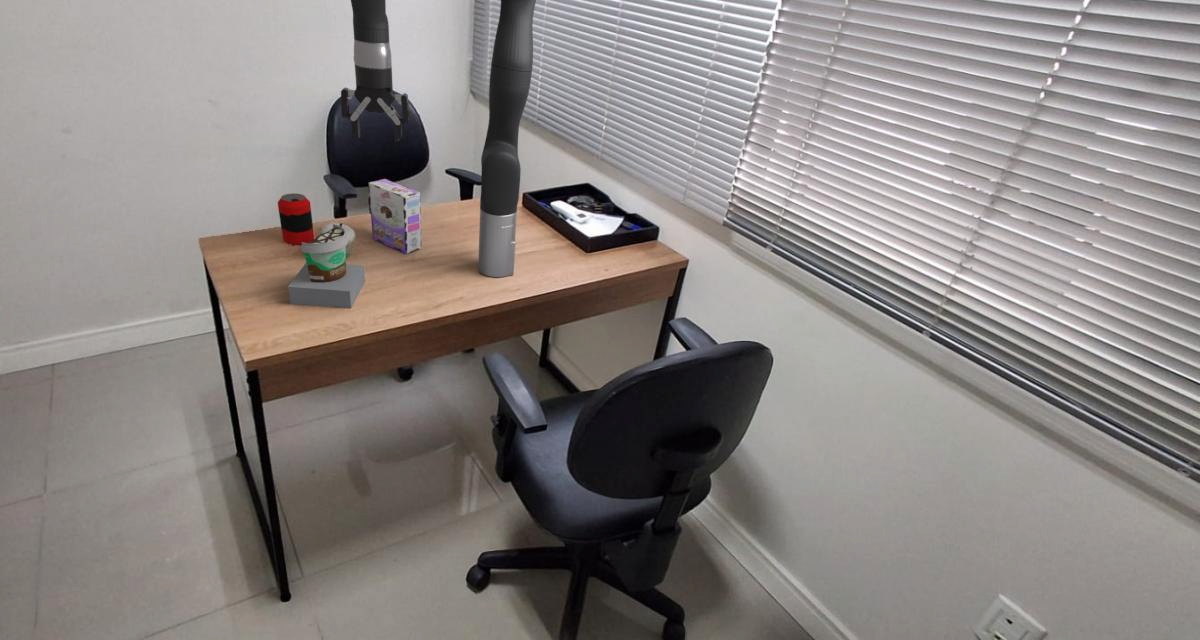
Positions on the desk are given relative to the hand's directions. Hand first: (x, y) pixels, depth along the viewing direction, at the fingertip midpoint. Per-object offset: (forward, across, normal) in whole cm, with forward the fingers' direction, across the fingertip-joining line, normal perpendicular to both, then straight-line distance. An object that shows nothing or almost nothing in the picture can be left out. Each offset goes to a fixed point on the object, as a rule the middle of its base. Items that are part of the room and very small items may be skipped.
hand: (377, 138), depth 140 cm
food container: (+29, +9, +14) cm, 33 cm away
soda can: (+33, +24, -14) cm, 43 cm away
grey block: (+34, +10, +14) cm, 38 cm away
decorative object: (+33, +12, -5) cm, 36 cm away
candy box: (+33, -1, -15) cm, 37 cm away
